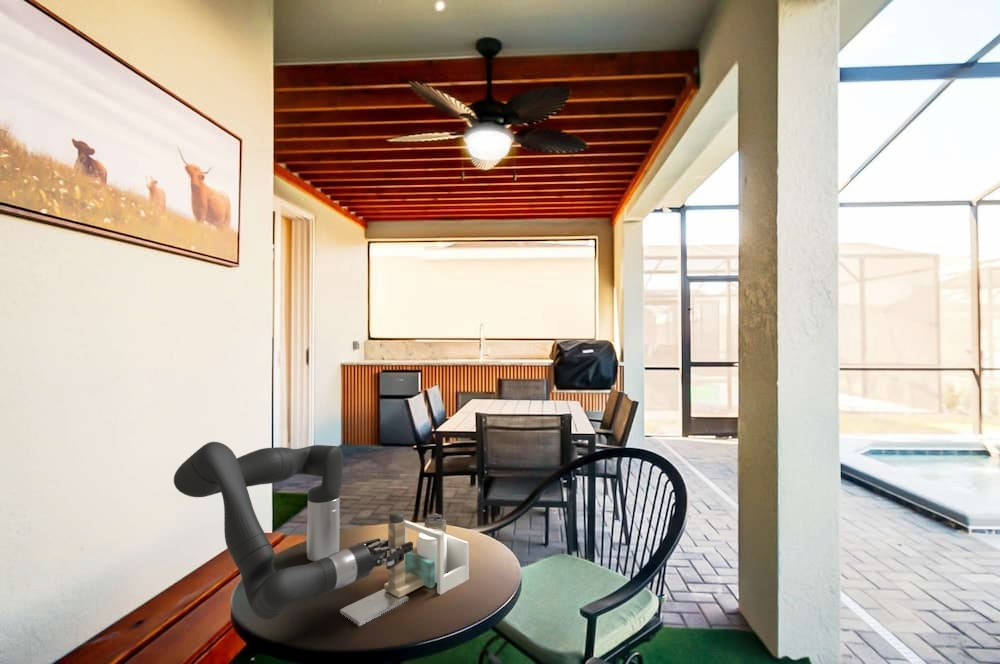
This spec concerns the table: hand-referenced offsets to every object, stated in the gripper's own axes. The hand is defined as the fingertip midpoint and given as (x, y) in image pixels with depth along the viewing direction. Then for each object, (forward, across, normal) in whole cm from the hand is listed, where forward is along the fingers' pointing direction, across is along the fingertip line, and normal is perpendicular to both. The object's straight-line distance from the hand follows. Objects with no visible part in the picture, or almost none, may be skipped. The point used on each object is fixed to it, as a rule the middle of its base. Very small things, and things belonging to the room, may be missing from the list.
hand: (405, 543), depth 121 cm
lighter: (+24, +15, +13) cm, 31 cm away
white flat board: (-9, 0, +12) cm, 15 cm away
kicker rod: (0, 0, +11) cm, 11 cm away
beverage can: (+9, 0, +13) cm, 16 cm away
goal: (+10, 0, +12) cm, 16 cm away
